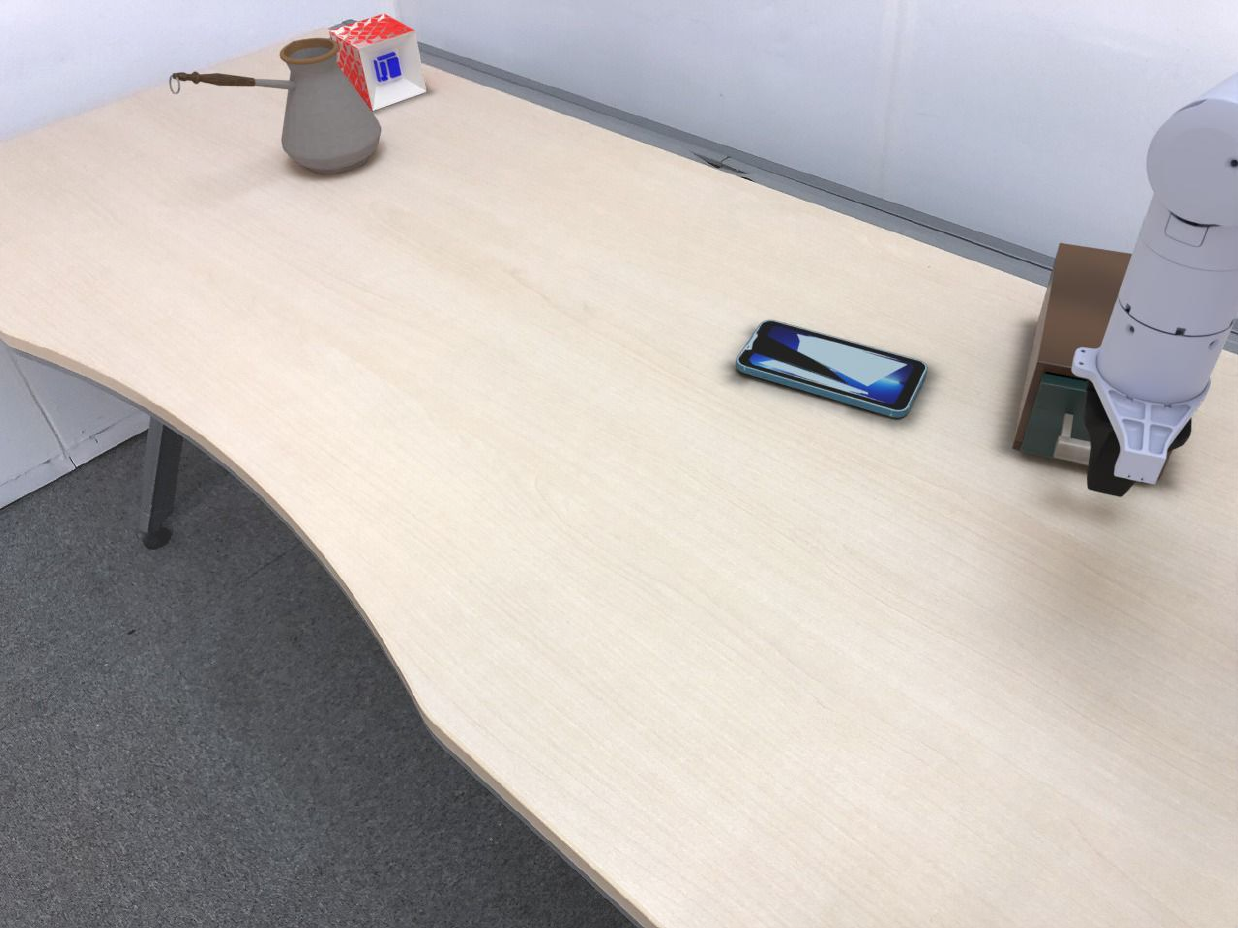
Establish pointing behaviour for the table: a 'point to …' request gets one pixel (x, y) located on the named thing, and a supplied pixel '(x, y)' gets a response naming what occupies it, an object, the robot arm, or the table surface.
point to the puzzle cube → (380, 60)
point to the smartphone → (833, 367)
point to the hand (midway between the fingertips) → (1105, 486)
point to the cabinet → (1072, 317)
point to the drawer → (1058, 420)
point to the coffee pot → (314, 108)
